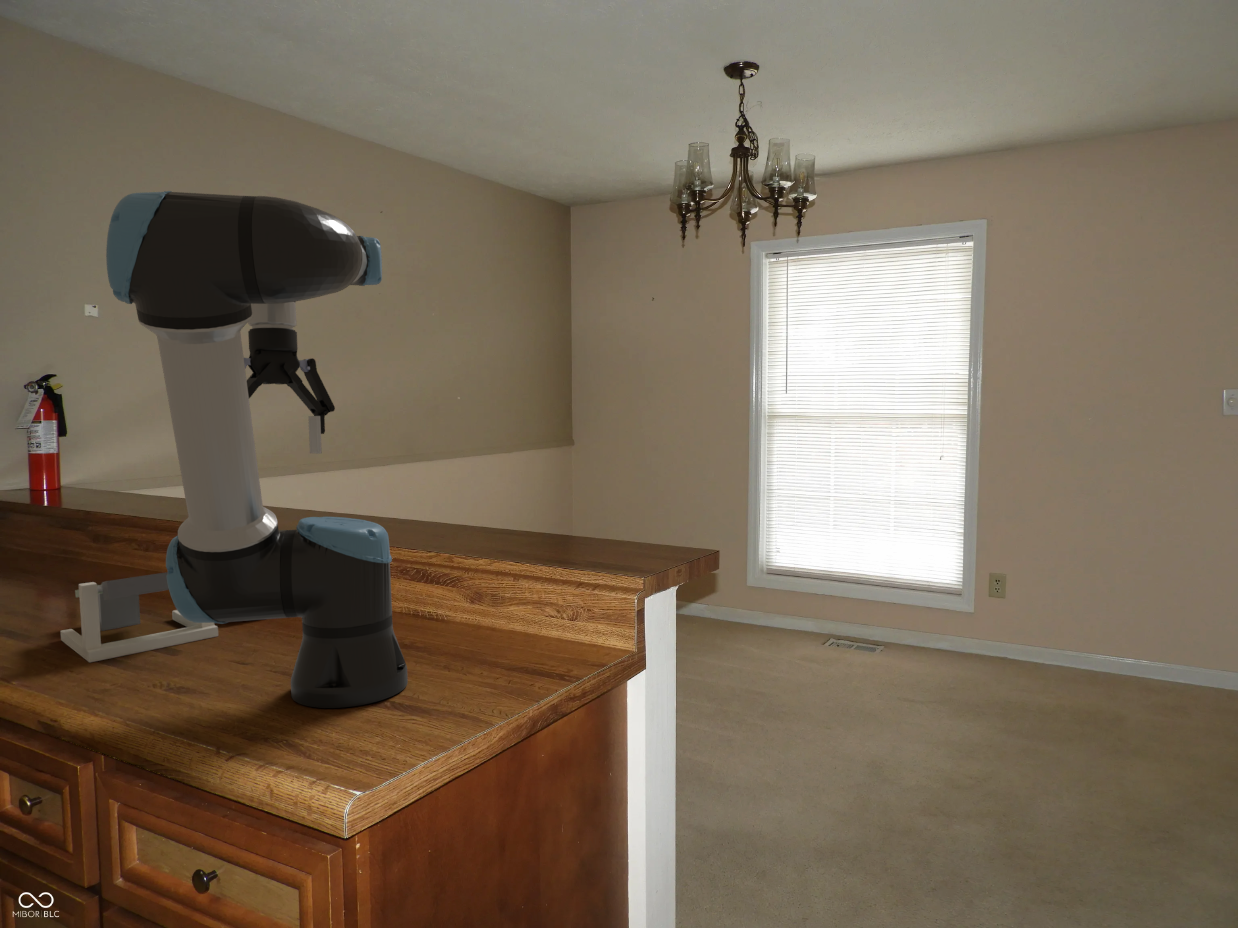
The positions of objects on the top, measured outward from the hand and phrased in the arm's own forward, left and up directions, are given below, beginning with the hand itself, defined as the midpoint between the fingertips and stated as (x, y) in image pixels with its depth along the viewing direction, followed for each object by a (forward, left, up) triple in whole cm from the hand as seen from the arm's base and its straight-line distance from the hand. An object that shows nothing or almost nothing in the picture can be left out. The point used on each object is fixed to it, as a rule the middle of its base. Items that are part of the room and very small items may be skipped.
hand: (278, 455), depth 139 cm
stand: (+15, +18, -30) cm, 38 cm away
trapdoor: (+14, +18, -23) cm, 32 cm away
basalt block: (+28, +18, -23) cm, 41 cm away
